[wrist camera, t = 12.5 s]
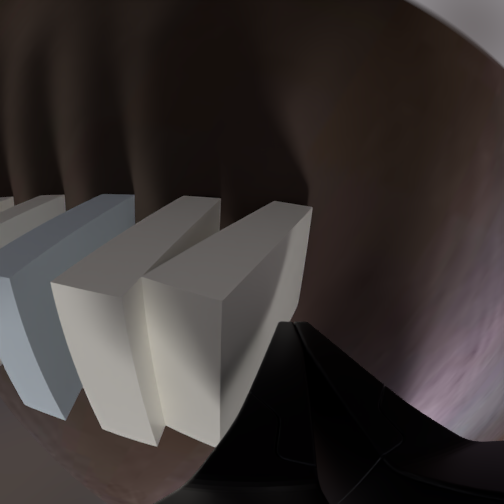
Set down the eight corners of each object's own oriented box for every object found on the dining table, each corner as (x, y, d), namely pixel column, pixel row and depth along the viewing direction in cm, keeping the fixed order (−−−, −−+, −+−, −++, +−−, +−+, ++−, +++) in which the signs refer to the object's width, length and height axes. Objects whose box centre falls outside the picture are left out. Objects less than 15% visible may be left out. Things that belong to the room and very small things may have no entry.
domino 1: (64, 194, 13) (-67, 262, 5) (75, 280, 15) (-15, 386, 6) (40, 195, 13) (-84, 258, 4) (52, 277, 15) (-39, 372, 6)
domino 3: (221, 198, 13) (121, 297, 5) (217, 296, 15) (157, 446, 7) (183, 195, 13) (50, 282, 5) (183, 291, 15) (102, 429, 7)
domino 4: (312, 207, 13) (222, 301, 5) (297, 304, 15) (219, 449, 7) (274, 200, 13) (141, 276, 6) (264, 296, 15) (165, 425, 7)
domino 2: (134, 194, 13) (9, 278, 5) (138, 288, 15) (65, 420, 7) (102, 194, 13) (-32, 269, 5) (109, 284, 15) (24, 404, 6)
